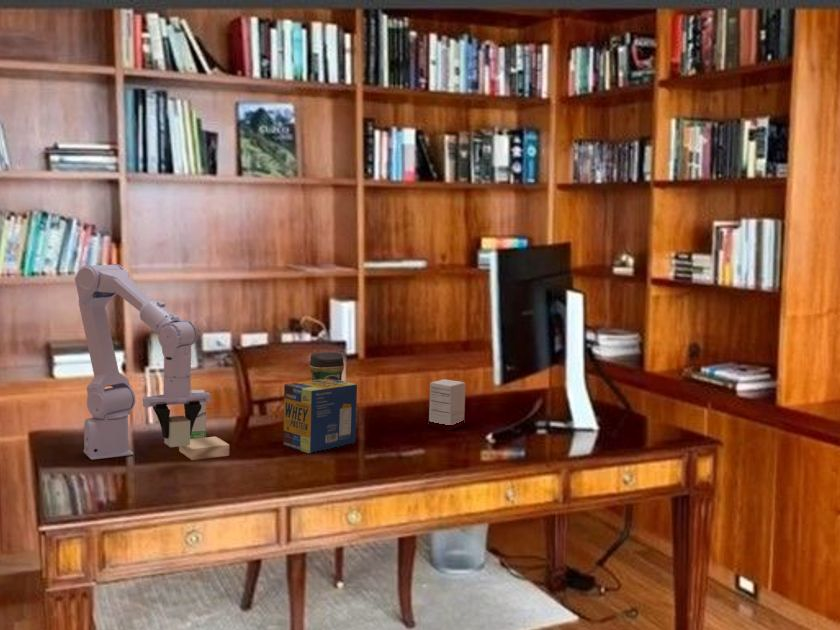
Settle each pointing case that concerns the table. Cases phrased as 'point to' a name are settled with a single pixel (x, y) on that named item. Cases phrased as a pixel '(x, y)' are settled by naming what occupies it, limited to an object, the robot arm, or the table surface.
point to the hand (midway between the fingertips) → (176, 436)
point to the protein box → (319, 414)
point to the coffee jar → (326, 365)
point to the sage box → (178, 432)
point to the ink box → (199, 420)
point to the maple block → (205, 448)
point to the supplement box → (447, 402)
